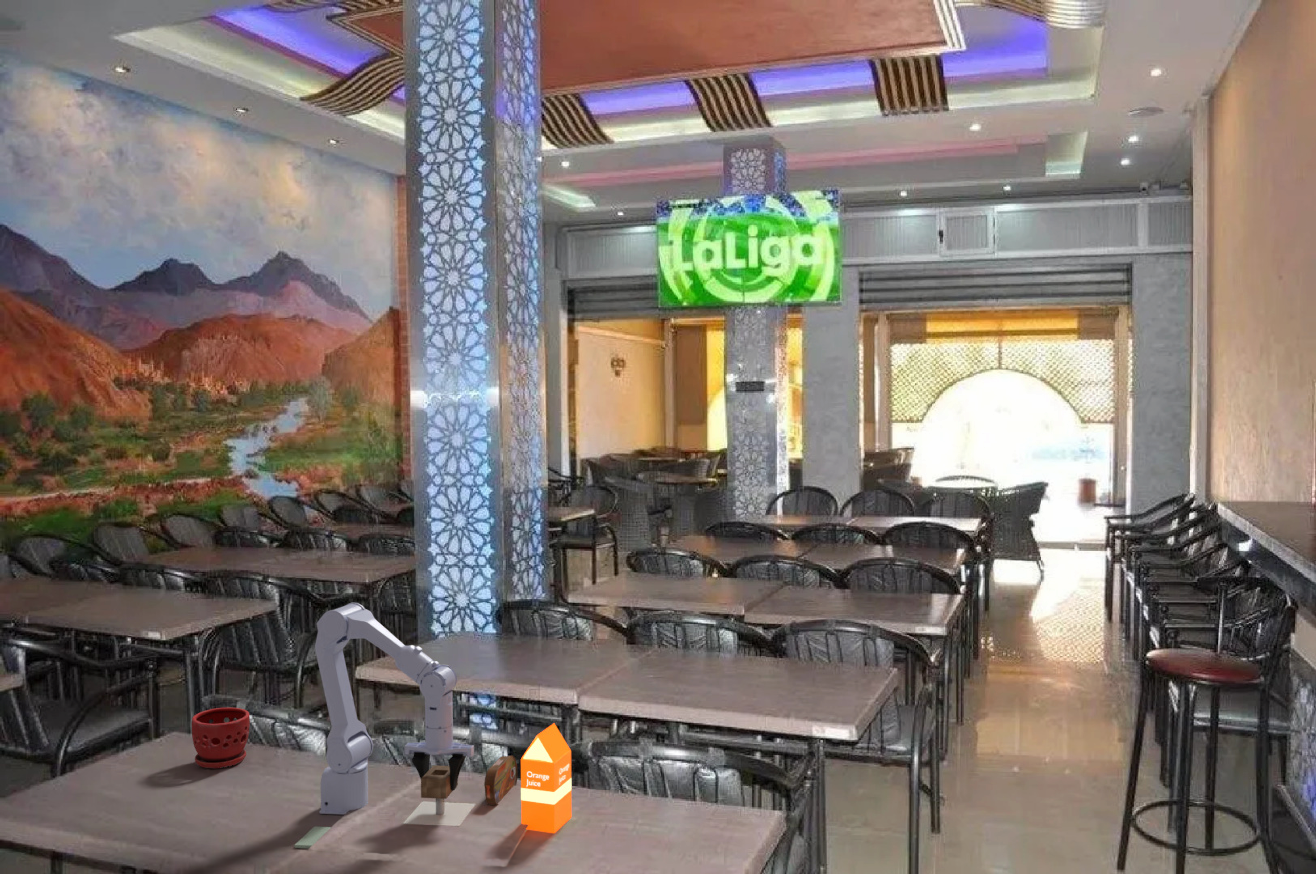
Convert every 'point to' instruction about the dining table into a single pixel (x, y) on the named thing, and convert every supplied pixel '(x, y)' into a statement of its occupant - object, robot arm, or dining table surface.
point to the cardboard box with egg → (436, 783)
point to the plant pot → (220, 737)
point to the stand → (439, 813)
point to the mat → (311, 837)
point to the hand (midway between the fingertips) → (439, 788)
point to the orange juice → (546, 782)
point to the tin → (500, 779)
